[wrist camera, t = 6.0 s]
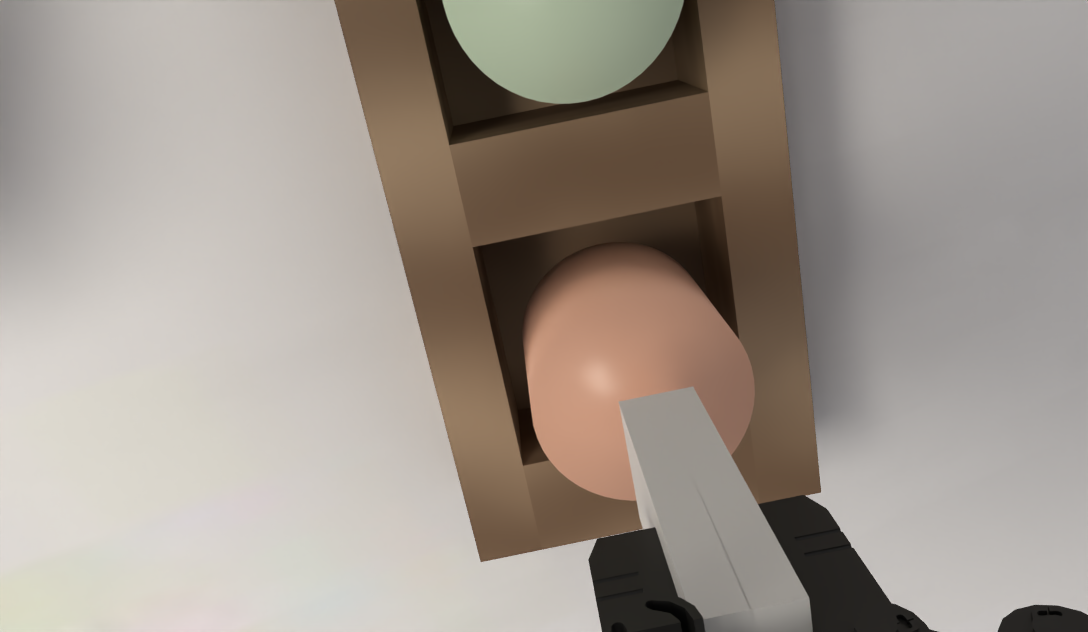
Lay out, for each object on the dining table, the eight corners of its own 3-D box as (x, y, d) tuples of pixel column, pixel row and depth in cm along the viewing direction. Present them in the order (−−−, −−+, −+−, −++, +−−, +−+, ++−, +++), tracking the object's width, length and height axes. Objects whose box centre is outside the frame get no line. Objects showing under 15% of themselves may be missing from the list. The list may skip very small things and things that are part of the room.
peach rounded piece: (505, 263, 23) (510, 321, 19) (693, 224, 23) (741, 274, 19) (541, 431, 24) (554, 520, 20) (717, 396, 24) (765, 476, 20)
